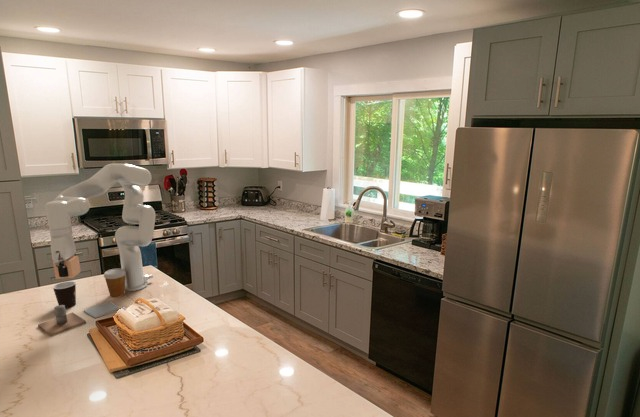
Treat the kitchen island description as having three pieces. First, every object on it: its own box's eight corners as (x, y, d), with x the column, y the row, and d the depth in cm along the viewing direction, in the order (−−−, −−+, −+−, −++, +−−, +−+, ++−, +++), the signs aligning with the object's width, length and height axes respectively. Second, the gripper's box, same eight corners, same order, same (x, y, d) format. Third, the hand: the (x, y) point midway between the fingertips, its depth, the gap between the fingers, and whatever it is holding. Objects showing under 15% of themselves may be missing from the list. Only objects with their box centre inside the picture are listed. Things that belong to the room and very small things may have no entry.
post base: (73, 314, 171) (70, 297, 169) (86, 323, 163) (83, 305, 161) (38, 326, 160) (35, 308, 159) (50, 336, 153) (47, 317, 151)
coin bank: (64, 272, 164) (61, 256, 163) (80, 271, 165) (78, 255, 164) (55, 278, 158) (52, 262, 156) (73, 277, 159) (70, 260, 157)
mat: (109, 302, 182) (109, 301, 182) (121, 308, 175) (120, 307, 175) (83, 311, 173) (83, 310, 173) (95, 318, 167) (95, 317, 166)
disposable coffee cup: (107, 293, 192) (103, 269, 190) (128, 289, 196) (125, 266, 194) (105, 300, 184) (102, 276, 181) (128, 296, 188) (125, 273, 185)
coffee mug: (70, 309, 175) (67, 288, 173) (51, 309, 175) (48, 289, 173) (86, 298, 186) (83, 278, 184) (68, 298, 187) (65, 278, 184)
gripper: (62, 226, 165) (69, 266, 169) (38, 238, 149) (47, 282, 153) (81, 225, 166) (87, 264, 170) (60, 237, 149) (67, 281, 153)
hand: (68, 272), depth 161 cm, fingers closed on coin bank, 6 cm apart
